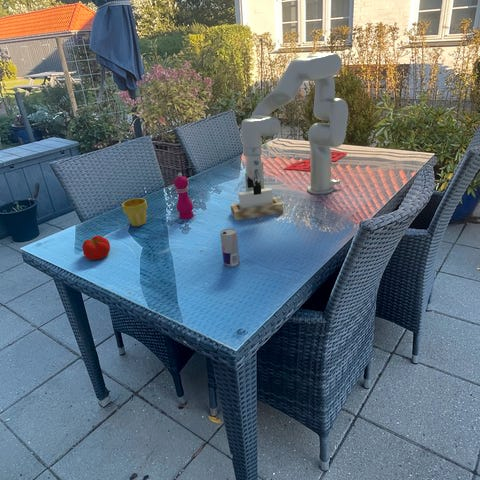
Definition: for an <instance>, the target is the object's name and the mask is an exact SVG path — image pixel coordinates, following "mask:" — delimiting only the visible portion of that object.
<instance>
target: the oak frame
mask: <svg viewBox="0 0 480 480" xmlns="http://www.w3.org/2000/svg"><path fill="white" fill-rule="evenodd" d="M230 213H231V215H232V217H233V219H234V220H235V221H240V220H241V221H242V220H249V219H253V218H258V217H259V218H260V217H264V216H265V217H266V216H271V215H277V214H282V213H284V203H283V202H282V201H281V200H279V198H278V197H277V196H273V204H268V205H262V206H256V207H250V208H244V209H240V202H238V203H232V204H231V203H230Z"/></svg>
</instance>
